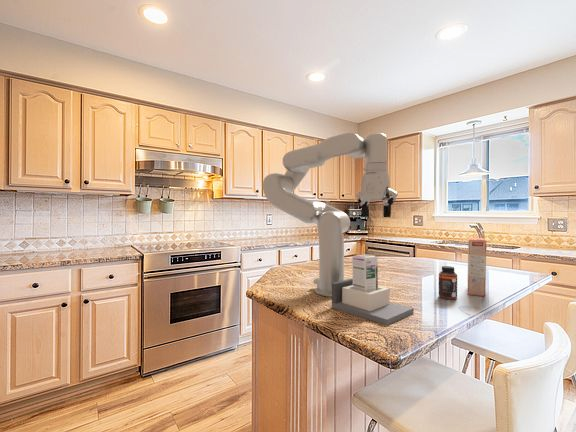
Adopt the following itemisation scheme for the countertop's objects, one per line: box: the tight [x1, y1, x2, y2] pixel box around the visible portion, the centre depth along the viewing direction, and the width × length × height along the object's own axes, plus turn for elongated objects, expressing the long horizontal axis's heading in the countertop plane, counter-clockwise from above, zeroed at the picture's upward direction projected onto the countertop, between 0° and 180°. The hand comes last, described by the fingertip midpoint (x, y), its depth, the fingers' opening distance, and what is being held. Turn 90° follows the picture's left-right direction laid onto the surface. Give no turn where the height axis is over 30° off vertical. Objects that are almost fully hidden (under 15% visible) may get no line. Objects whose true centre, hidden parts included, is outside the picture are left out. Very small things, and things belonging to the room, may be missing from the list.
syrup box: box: [351, 254, 379, 293], centre depth 96 cm, size 6×6×14 cm
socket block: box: [342, 285, 391, 311], centre depth 96 cm, size 11×11×5 cm
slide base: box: [331, 277, 415, 326], centre depth 94 cm, size 20×15×8 cm
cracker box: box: [467, 237, 487, 297], centre depth 116 cm, size 14×6×21 cm, turn 148°
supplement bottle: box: [438, 265, 458, 301], centre depth 108 cm, size 6×6×11 cm
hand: (375, 216), depth 107 cm, fingers open, 9 cm apart
